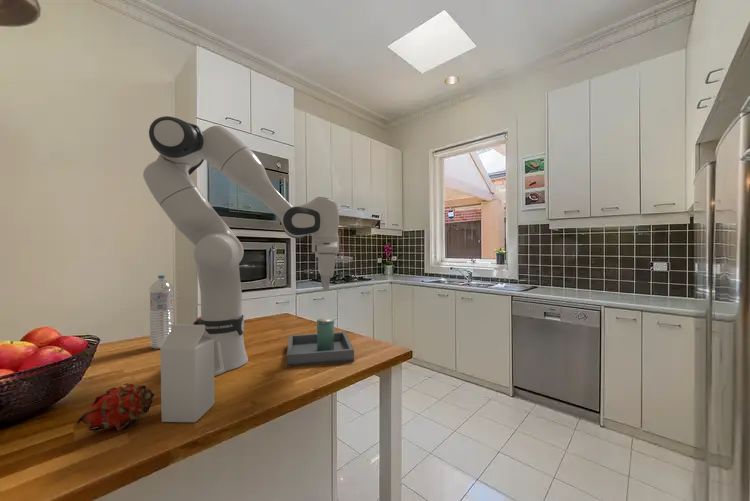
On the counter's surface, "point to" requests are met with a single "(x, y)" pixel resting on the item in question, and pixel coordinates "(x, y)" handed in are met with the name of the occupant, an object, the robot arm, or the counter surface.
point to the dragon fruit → (117, 407)
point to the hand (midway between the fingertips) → (324, 288)
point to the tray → (306, 353)
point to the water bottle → (160, 311)
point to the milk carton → (187, 374)
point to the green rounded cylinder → (325, 334)
